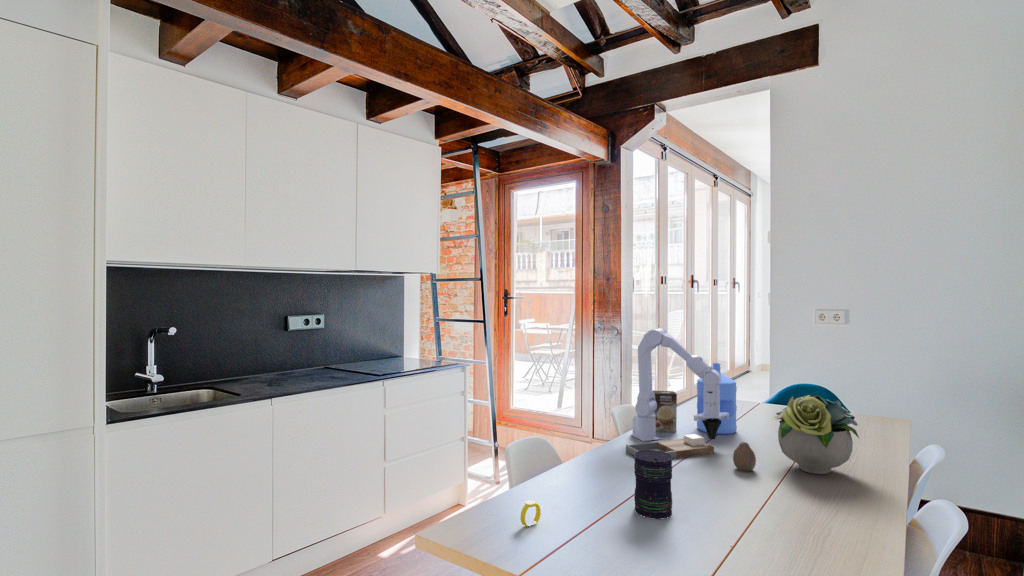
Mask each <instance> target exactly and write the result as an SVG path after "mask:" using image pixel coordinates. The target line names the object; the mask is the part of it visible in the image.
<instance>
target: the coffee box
mask: <svg viewBox="0 0 1024 576" xmlns="http://www.w3.org/2000/svg"><path fill="white" fill-rule="evenodd" d="M652 391H653V393H654V397H655V401H656V402H657V409H656V410H655V411H654V413H655V415H656V432H660V431H666V433H676V432H677V416H678V415H677V406H678V405H677V404H678V401H677V400H678V398H677V397H678V394H677V393H676V392H675V391H674V390H652Z"/></svg>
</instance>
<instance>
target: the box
mask: <svg viewBox="0 0 1024 576" xmlns="http://www.w3.org/2000/svg"><path fill="white" fill-rule="evenodd" d="M658 442H659V441H653V442H651V441H650V442H644V443H635V444H626V445H625V453H627V454H629V455H631V456H632V455H633V456H632V457H634V458H635V453H636V452H638V451H642V450H655V451H661V452H665V451H663V450H661V449H659V448H658ZM665 453H668V454H670V455H671V456H672V460H674V458H675V459H678V458H677V451H669V452H665Z"/></svg>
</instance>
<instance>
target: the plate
mask: <svg viewBox="0 0 1024 576" xmlns="http://www.w3.org/2000/svg"><path fill="white" fill-rule="evenodd" d="M657 442H658V448H659V449H661V450H663V451H665V452H669V451H677V458H676V459H683V458H689V457H698V455H699V456H706V455H714V454H715V447H714V446H713V445H711V444H709V443H706V442H704V445H695V446H692V445H690V444H687V443H685V442H684V438H680V439H679V438H678V439H670V440H669V439H668V440H662V441H659V440H658V441H657Z"/></svg>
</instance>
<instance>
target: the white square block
mask: <svg viewBox="0 0 1024 576" xmlns="http://www.w3.org/2000/svg"><path fill="white" fill-rule="evenodd" d="M683 439H684V442H685V443H687V444H690V445H692V446H695V445H704V443H705V437H703V436H701V435H698V434H696V433H693V434H684V435H683Z"/></svg>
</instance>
